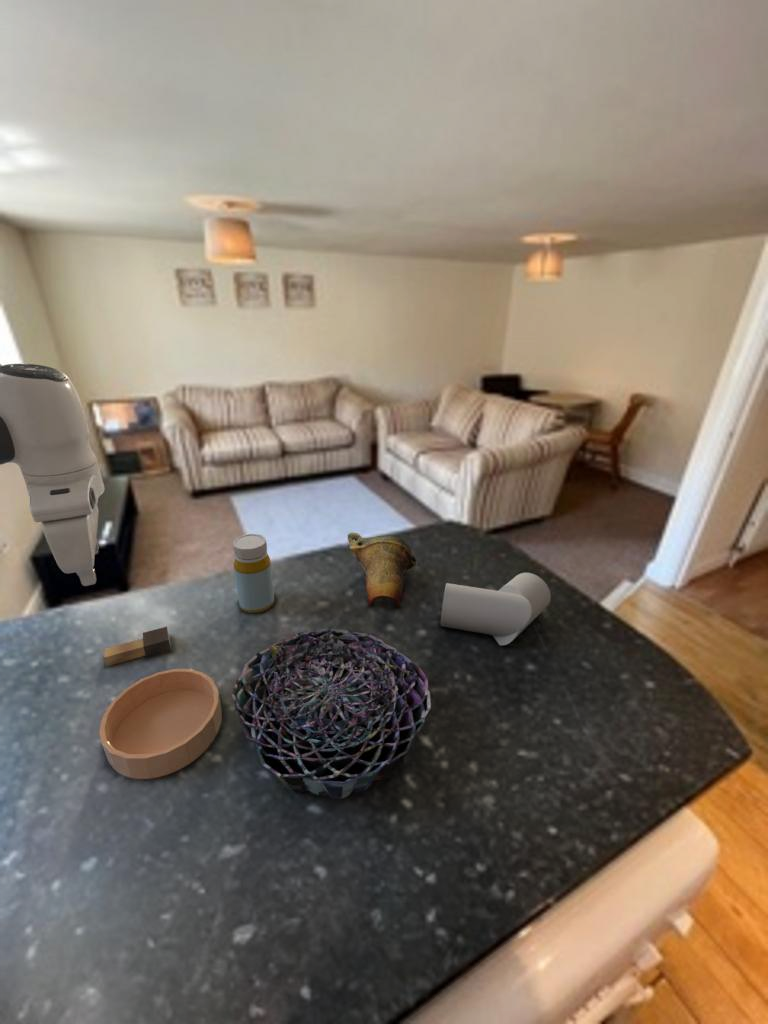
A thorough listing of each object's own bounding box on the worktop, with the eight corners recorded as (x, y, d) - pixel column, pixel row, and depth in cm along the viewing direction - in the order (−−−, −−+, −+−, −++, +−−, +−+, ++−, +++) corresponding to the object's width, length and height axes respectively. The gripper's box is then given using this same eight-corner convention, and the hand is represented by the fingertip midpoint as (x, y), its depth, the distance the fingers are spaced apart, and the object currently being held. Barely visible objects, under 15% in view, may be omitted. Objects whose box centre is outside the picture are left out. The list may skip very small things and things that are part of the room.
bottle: (277, 610, 91) (270, 546, 84) (241, 618, 89) (232, 553, 82) (271, 591, 97) (265, 530, 90) (238, 598, 94) (229, 535, 88)
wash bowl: (84, 781, 58) (74, 758, 56) (139, 689, 72) (133, 668, 70) (201, 781, 59) (196, 758, 57) (234, 689, 73) (231, 669, 71)
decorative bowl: (328, 883, 50) (330, 836, 46) (199, 728, 65) (191, 681, 61) (452, 734, 68) (463, 689, 63) (328, 639, 83) (330, 597, 78)
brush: (107, 671, 75) (102, 658, 74) (107, 656, 78) (103, 642, 77) (171, 652, 80) (168, 639, 78) (169, 638, 83) (166, 626, 81)
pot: (348, 578, 86) (356, 513, 99) (332, 609, 94) (341, 545, 107) (430, 599, 90) (427, 534, 103) (408, 627, 97) (408, 563, 110)
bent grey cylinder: (507, 669, 76) (558, 616, 89) (504, 615, 73) (556, 568, 86) (426, 638, 88) (481, 595, 102) (420, 590, 85) (477, 553, 99)
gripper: (48, 464, 70) (73, 541, 76) (27, 516, 54) (60, 609, 60) (95, 459, 73) (115, 534, 79) (88, 507, 57) (114, 596, 63)
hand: (91, 567), depth 69 cm, fingers open, 8 cm apart
